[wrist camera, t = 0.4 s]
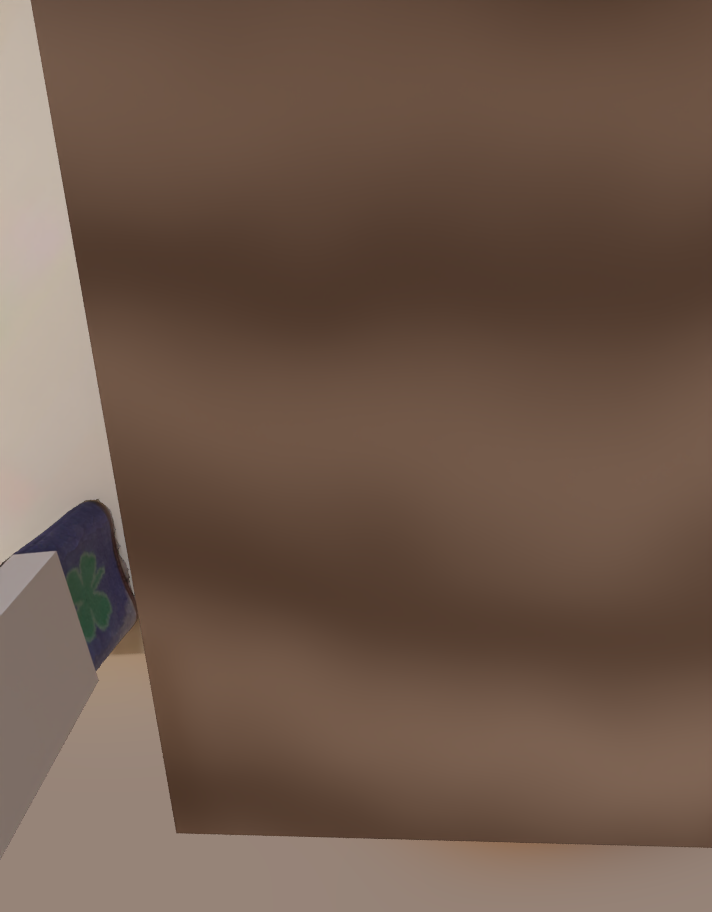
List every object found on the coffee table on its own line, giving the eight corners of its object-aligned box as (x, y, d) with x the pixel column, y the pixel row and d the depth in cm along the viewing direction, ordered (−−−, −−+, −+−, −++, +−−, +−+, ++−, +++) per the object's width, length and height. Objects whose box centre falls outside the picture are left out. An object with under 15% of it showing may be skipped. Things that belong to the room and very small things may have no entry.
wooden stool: (265, -40, 32) (-106, -772, 9) (555, -73, 31) (957, -1034, 8) (312, 508, 40) (176, 833, 18) (543, 502, 39) (724, 848, 16)
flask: (144, 623, 44) (61, 732, 34) (104, 627, 44) (10, 736, 34) (108, 495, 42) (7, 571, 31) (66, 500, 42) (-48, 578, 32)
